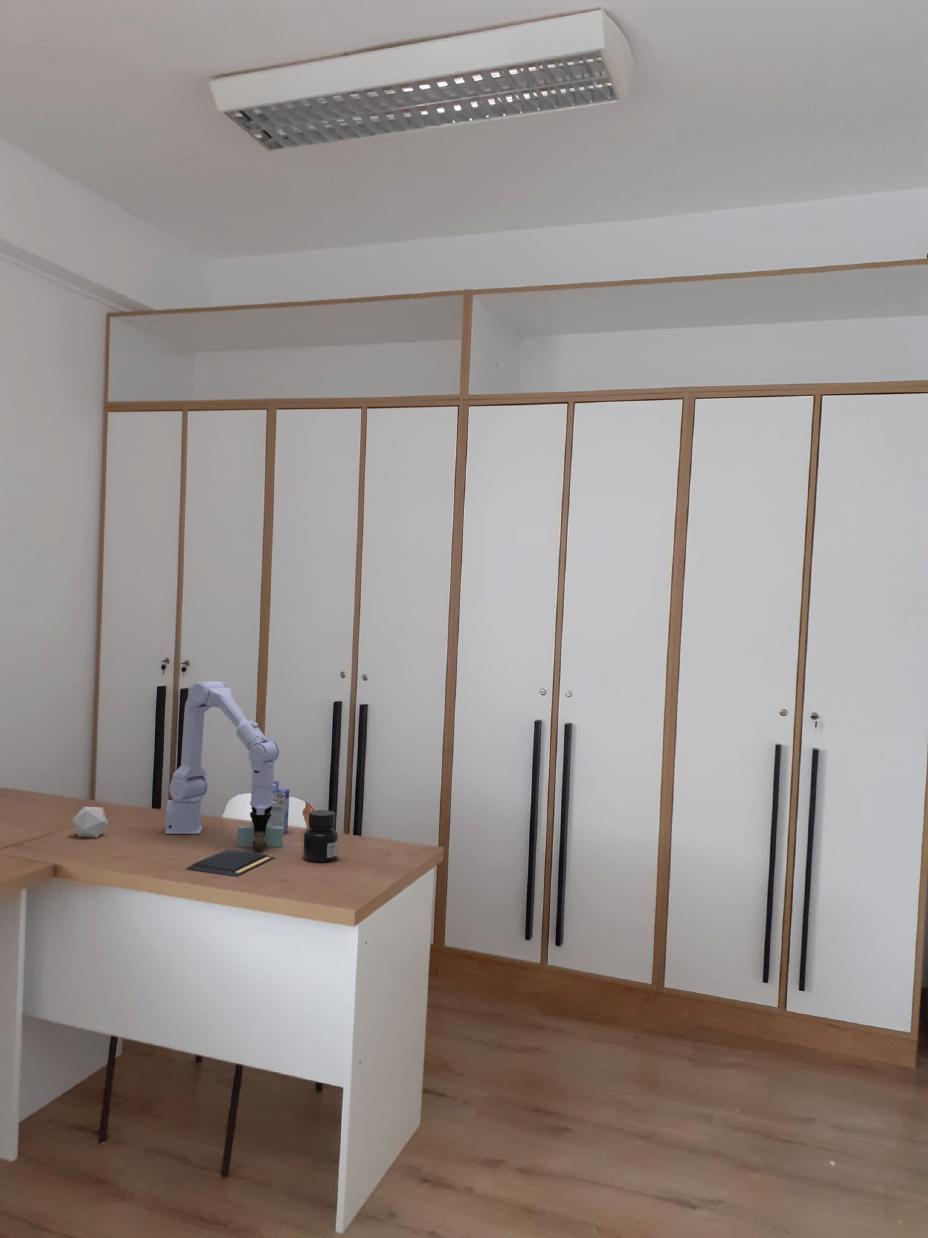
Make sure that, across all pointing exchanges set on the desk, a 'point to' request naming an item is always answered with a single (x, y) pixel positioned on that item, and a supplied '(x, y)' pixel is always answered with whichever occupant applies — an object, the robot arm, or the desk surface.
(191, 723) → the robot arm
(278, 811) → the ink cartridge box
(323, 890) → the desk surface
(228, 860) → the wallet
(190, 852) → the desk surface
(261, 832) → the rail
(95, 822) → the die
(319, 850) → the ink bottle
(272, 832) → the teal curved block
